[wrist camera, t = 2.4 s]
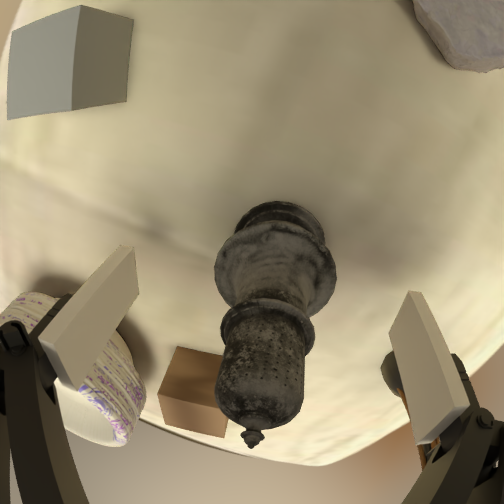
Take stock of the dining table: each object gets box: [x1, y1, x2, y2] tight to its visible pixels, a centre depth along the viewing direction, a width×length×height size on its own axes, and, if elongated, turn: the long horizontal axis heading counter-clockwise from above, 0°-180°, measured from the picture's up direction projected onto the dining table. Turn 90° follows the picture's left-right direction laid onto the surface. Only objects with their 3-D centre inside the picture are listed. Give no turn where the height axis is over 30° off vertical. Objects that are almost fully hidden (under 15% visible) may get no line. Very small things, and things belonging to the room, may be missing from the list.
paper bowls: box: [0, 292, 146, 447], centre depth 22 cm, size 15×15×8 cm
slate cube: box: [7, 5, 134, 120], centre depth 11 cm, size 5×5×5 cm
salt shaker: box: [214, 201, 337, 449], centre depth 12 cm, size 6×6×12 cm
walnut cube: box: [157, 346, 229, 438], centre depth 22 cm, size 5×5×5 cm
